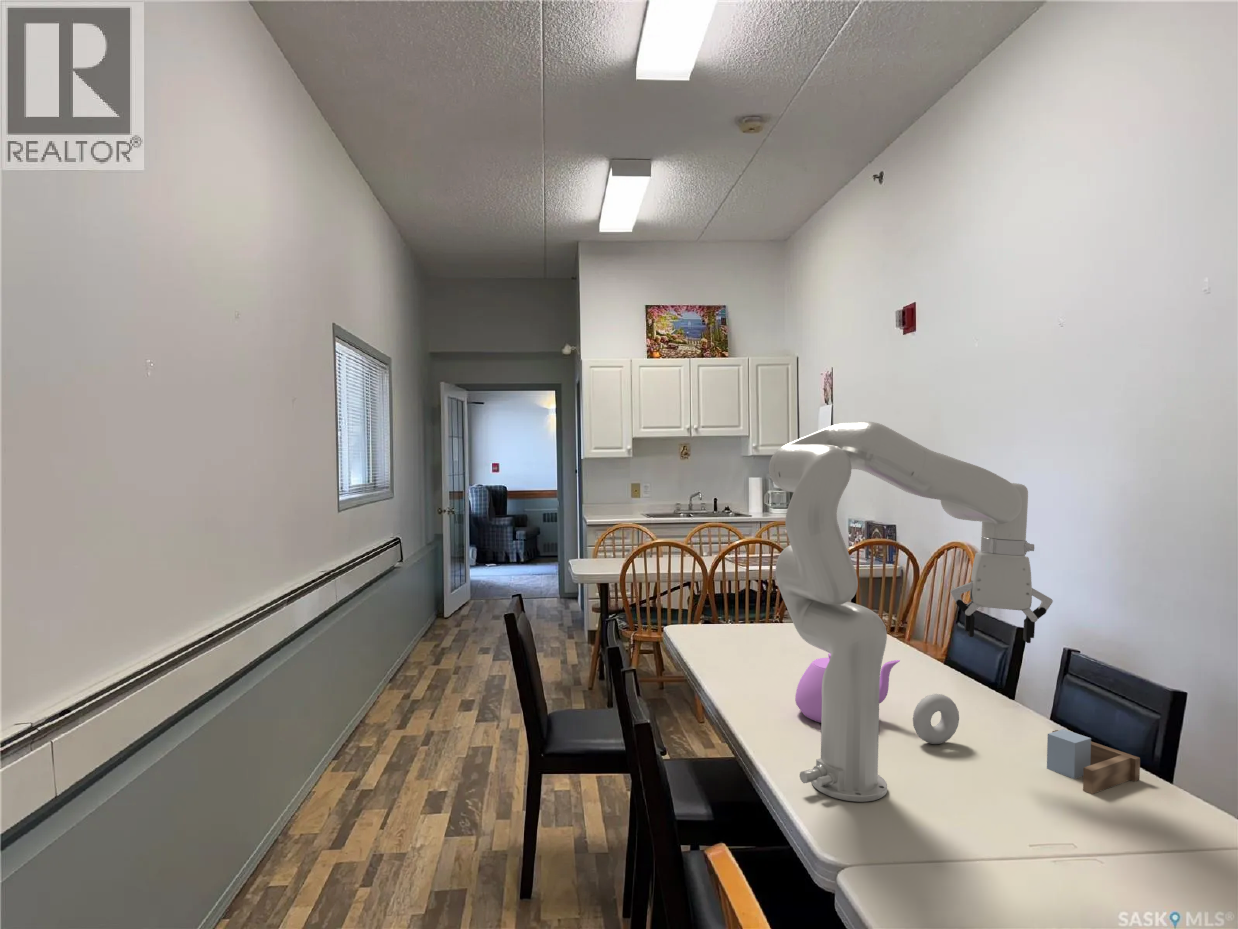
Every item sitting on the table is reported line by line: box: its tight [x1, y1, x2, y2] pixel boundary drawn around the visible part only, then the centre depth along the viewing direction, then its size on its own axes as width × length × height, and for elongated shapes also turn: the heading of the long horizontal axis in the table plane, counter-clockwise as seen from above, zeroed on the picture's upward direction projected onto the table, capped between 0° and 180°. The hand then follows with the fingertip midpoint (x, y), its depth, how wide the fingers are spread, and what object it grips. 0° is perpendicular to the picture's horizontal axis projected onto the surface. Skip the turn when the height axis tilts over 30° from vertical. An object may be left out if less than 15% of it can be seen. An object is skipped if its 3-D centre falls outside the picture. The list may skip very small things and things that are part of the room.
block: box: [1046, 728, 1092, 780], centre depth 139 cm, size 5×5×6 cm
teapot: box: [794, 653, 901, 723], centre depth 165 cm, size 22×22×14 cm
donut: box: [912, 693, 960, 745], centre depth 151 cm, size 10×4×10 cm, turn 105°
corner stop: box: [1051, 729, 1141, 795], centre depth 139 cm, size 14×15×4 cm
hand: (998, 638), depth 143 cm, fingers open, 9 cm apart
